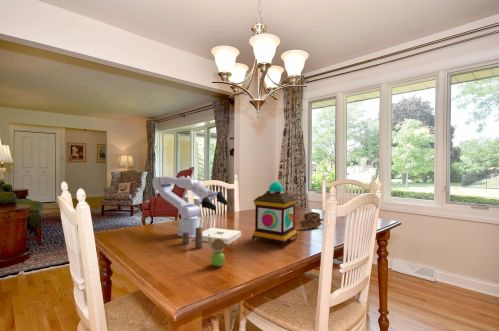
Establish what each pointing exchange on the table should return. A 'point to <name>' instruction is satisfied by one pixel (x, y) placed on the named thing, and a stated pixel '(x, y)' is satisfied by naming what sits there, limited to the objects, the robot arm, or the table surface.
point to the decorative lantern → (275, 215)
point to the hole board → (221, 235)
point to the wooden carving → (311, 220)
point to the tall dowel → (198, 238)
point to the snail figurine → (217, 251)
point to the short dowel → (185, 238)
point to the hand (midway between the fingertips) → (221, 206)
